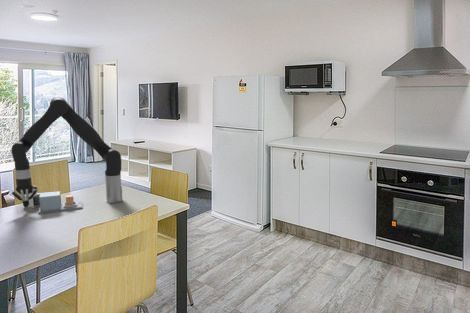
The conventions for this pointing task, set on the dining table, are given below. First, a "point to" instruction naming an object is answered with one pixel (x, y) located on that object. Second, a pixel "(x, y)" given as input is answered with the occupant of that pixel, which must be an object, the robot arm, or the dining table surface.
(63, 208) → the housing base
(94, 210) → the dining table surface
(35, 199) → the medicine bottle
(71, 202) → the tan rectangular block
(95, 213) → the dining table surface
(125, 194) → the dining table surface
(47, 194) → the cover
